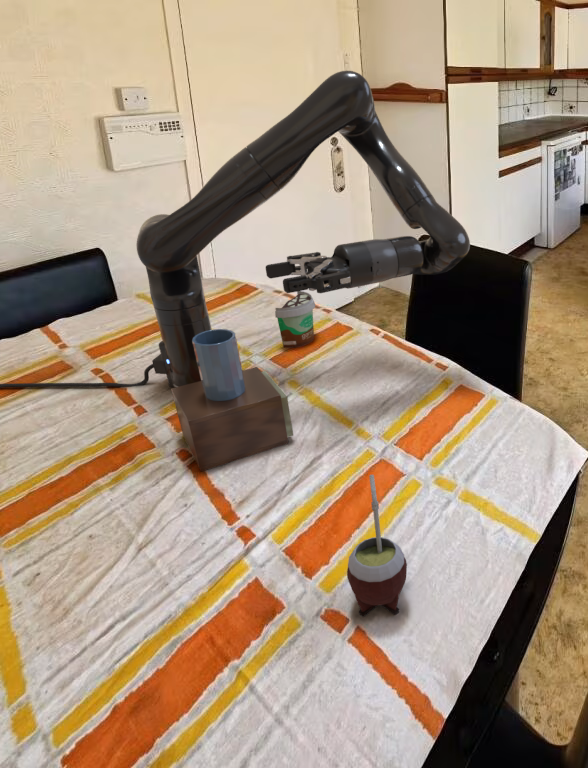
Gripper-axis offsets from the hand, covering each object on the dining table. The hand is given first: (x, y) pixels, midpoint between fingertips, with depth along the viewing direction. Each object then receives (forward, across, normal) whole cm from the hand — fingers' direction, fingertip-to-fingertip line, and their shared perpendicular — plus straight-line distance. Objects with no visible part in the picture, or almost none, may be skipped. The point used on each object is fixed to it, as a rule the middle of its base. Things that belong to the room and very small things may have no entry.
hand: (275, 279), depth 101 cm
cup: (+11, 0, +18) cm, 21 cm away
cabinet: (+11, 0, +27) cm, 29 cm away
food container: (-14, -33, +27) cm, 45 cm away
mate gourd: (+6, +46, +27) cm, 54 cm away
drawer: (+9, 0, +26) cm, 28 cm away
